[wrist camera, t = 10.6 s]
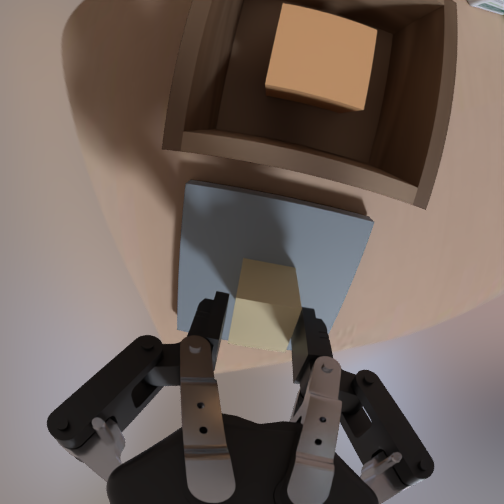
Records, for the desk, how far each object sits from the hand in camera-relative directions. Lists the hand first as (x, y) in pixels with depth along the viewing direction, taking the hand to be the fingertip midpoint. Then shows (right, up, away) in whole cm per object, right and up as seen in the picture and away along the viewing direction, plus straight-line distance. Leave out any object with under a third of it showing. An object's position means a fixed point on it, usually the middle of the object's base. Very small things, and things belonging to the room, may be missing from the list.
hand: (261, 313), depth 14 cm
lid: (0, +2, +3) cm, 4 cm away
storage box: (+3, +13, -2) cm, 14 cm away
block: (+3, +13, -3) cm, 13 cm away
